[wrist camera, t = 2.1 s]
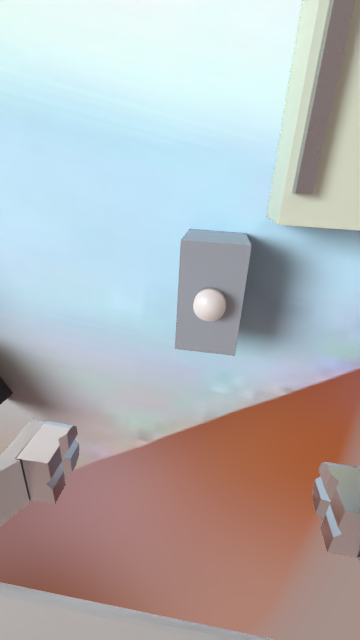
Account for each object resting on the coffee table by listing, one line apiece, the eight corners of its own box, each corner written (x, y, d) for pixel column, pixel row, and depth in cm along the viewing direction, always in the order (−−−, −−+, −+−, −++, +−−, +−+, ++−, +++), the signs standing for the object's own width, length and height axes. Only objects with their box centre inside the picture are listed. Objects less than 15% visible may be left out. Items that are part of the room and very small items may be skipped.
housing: (189, 228, 27) (179, 242, 20) (245, 233, 26) (253, 248, 20) (183, 319, 30) (173, 354, 24) (232, 324, 30) (235, 362, 24)
